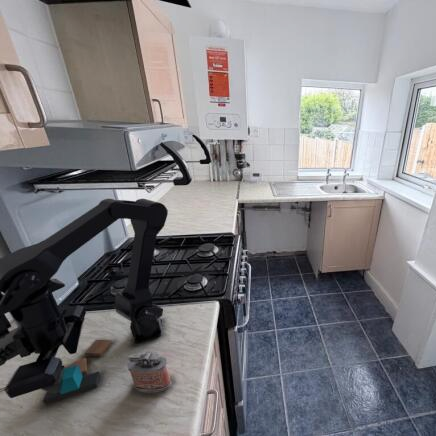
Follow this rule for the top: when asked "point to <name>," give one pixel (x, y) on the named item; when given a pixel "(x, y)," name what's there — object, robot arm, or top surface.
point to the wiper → (73, 384)
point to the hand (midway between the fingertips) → (66, 371)
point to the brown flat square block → (98, 348)
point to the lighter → (149, 372)
